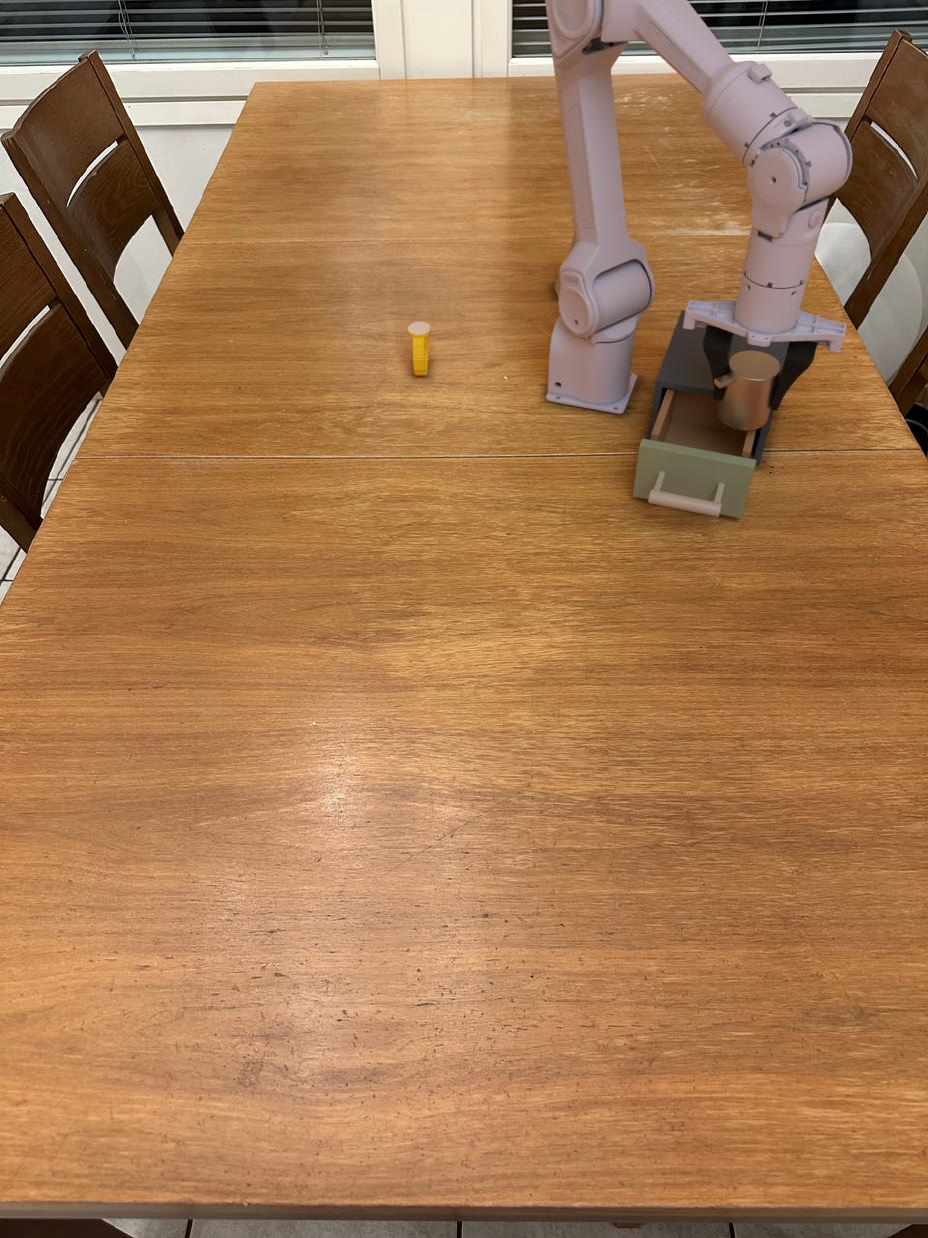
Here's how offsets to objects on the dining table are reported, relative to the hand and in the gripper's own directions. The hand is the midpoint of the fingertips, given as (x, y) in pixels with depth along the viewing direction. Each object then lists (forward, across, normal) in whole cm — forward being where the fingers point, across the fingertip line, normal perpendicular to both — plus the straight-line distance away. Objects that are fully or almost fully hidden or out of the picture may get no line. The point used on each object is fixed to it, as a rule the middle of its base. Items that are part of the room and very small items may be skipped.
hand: (746, 399), depth 95 cm
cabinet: (+10, -3, +11) cm, 15 cm away
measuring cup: (+2, 0, 0) cm, 2 cm away
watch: (+10, -39, +10) cm, 42 cm away
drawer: (+10, -3, -2) cm, 10 cm away
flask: (+10, -26, +34) cm, 43 cm away
